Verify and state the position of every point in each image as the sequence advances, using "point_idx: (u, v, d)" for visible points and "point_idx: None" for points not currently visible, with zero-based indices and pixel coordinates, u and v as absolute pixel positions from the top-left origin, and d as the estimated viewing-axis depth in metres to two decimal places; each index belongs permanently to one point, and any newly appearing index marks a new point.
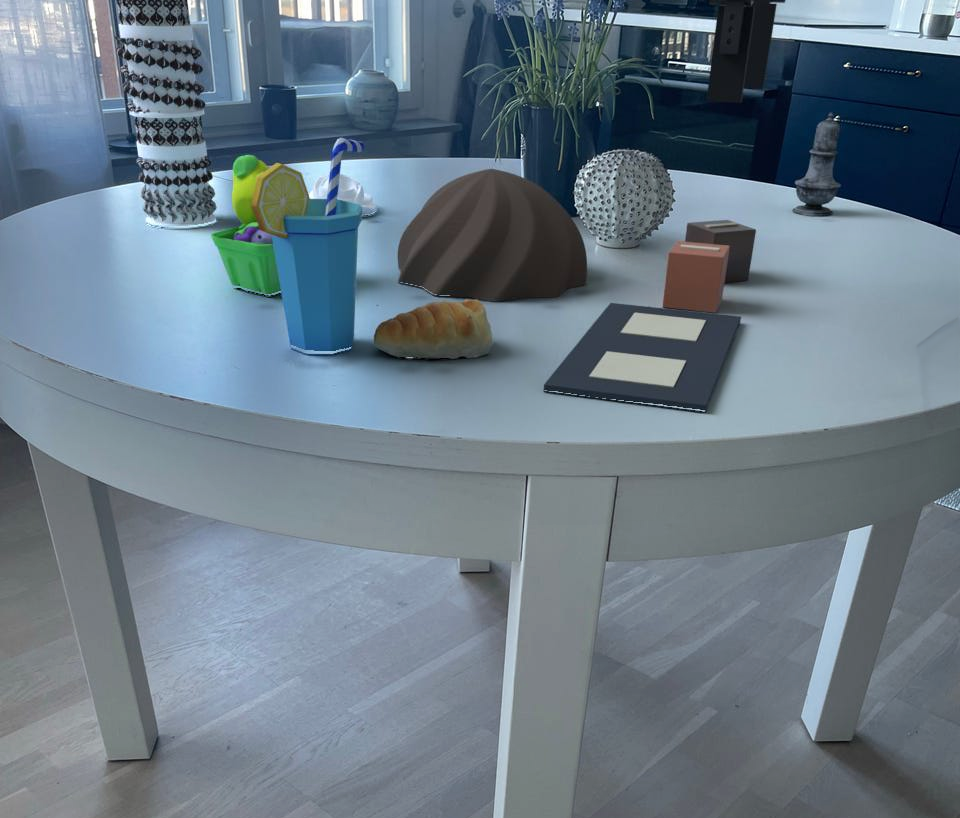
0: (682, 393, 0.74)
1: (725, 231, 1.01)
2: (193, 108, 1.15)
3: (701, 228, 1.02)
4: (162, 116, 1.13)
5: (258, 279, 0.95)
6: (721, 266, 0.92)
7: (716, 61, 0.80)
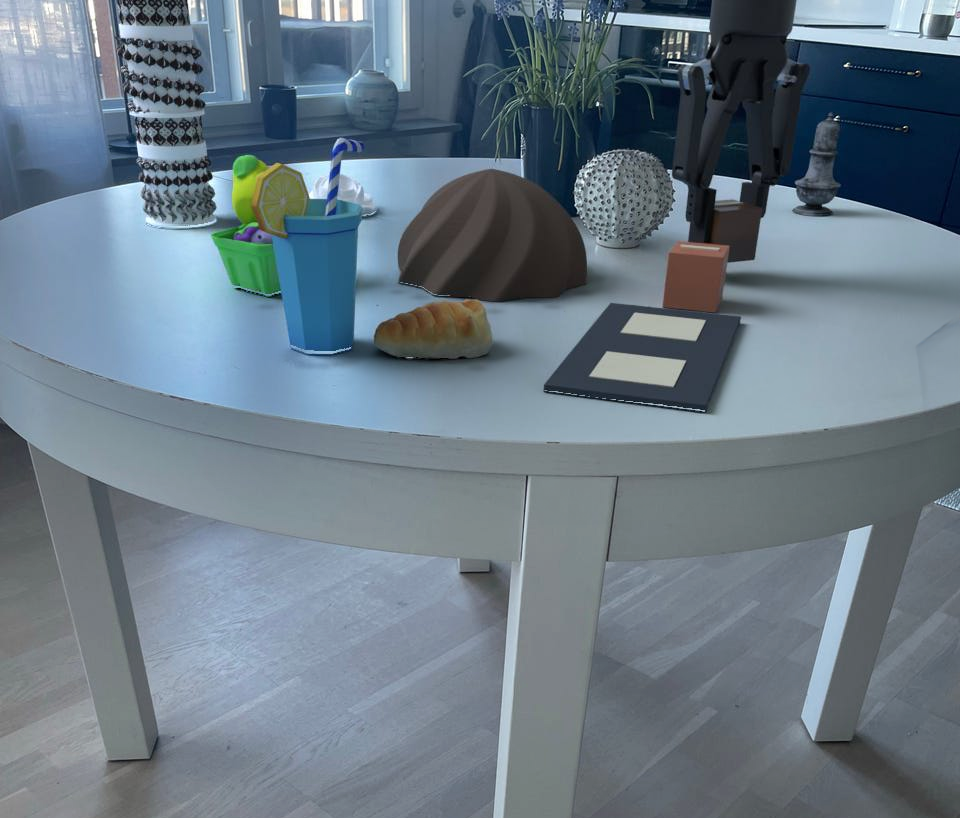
0: (682, 393, 0.74)
1: (731, 210, 1.00)
2: (193, 108, 1.15)
3: None
4: (162, 116, 1.13)
5: (258, 279, 0.95)
6: (721, 266, 0.92)
7: (692, 226, 1.02)
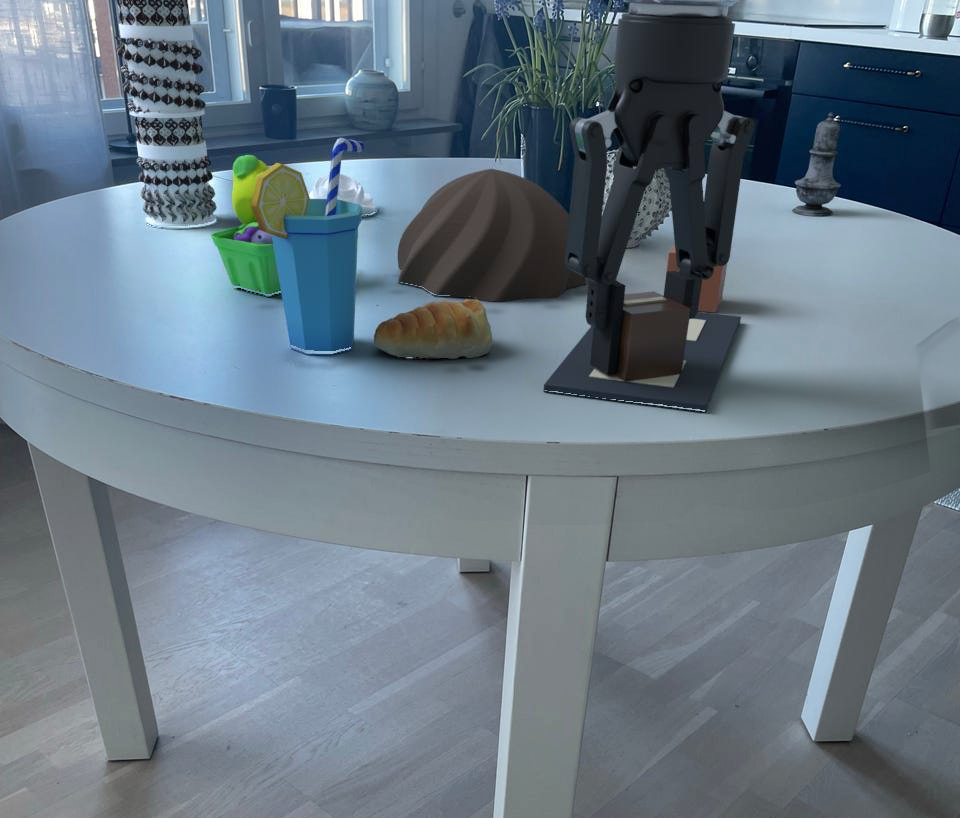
0: (682, 393, 0.74)
1: (647, 312, 0.73)
2: (193, 108, 1.15)
3: None
4: (162, 116, 1.13)
5: (258, 279, 0.95)
6: (721, 266, 0.92)
7: (596, 329, 0.76)
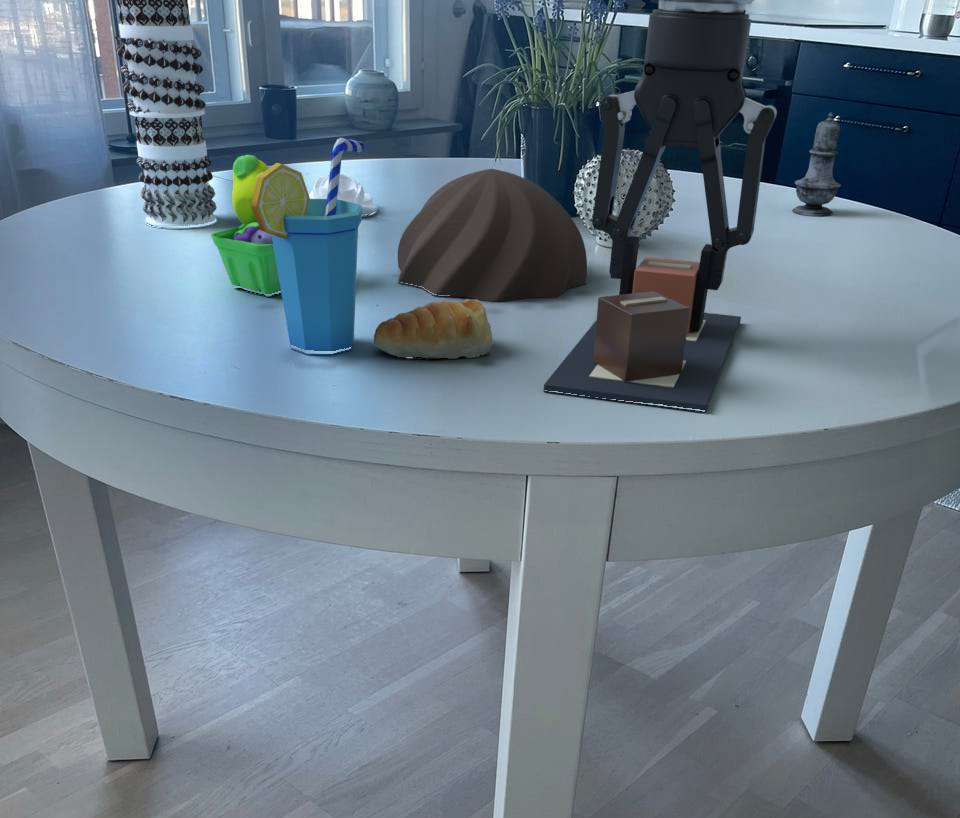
0: (682, 393, 0.74)
1: (647, 312, 0.73)
2: (193, 108, 1.15)
3: (615, 306, 0.75)
4: (162, 116, 1.13)
5: (258, 279, 0.95)
6: (692, 286, 0.83)
7: None
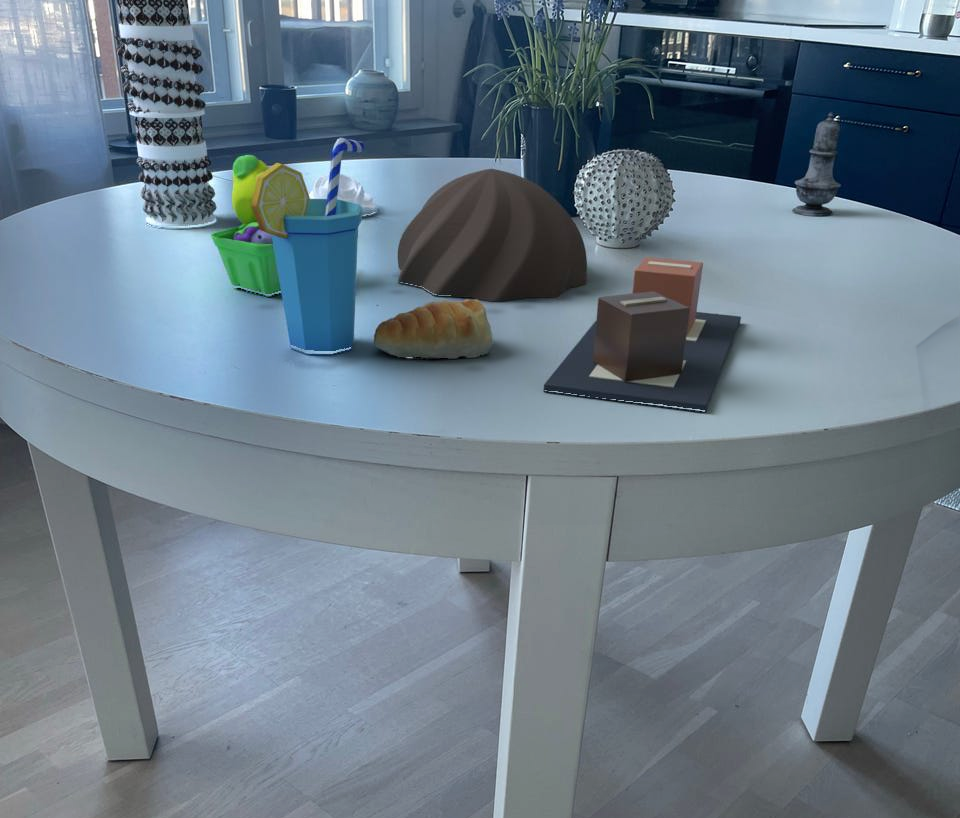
0: (682, 393, 0.74)
1: (647, 312, 0.73)
2: (193, 108, 1.15)
3: (615, 306, 0.75)
4: (162, 116, 1.13)
5: (258, 279, 0.95)
6: (692, 286, 0.83)
7: None
